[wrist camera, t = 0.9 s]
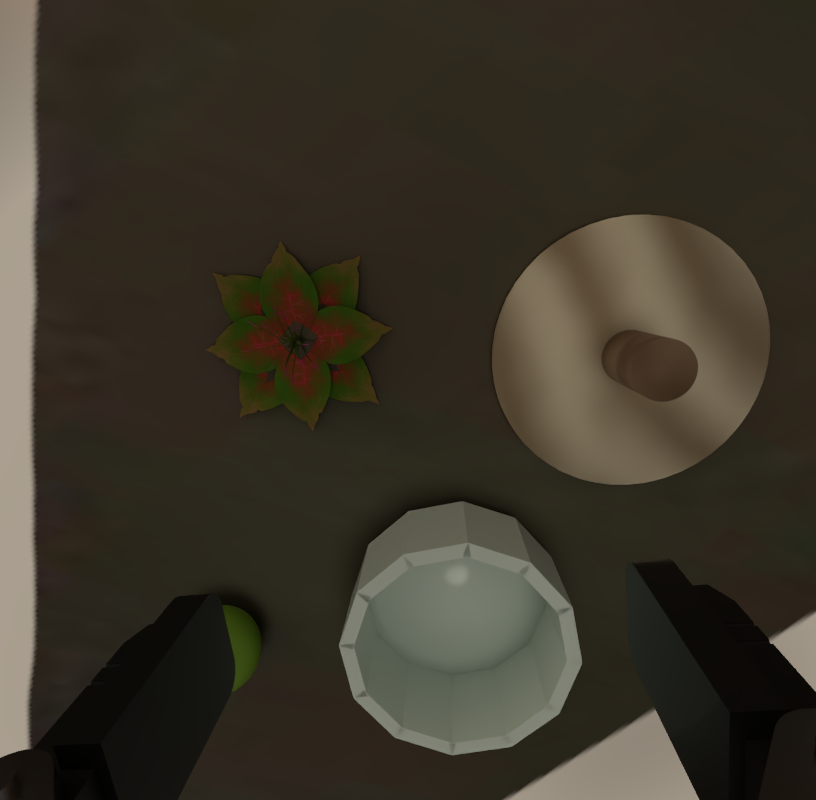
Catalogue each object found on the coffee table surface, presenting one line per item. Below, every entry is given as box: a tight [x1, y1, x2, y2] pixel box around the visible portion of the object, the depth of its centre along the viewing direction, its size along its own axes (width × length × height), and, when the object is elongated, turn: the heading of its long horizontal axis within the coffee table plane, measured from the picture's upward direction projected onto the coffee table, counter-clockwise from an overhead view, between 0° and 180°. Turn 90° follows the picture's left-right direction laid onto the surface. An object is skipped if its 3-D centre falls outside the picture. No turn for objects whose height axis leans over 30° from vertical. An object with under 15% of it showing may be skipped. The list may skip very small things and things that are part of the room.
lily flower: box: [206, 240, 393, 431], centre depth 31 cm, size 12×12×5 cm
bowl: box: [339, 501, 582, 755], centre depth 33 cm, size 13×13×6 cm
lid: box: [492, 215, 770, 485], centre depth 30 cm, size 16×16×6 cm
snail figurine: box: [222, 605, 262, 692], centre depth 32 cm, size 5×6×12 cm
